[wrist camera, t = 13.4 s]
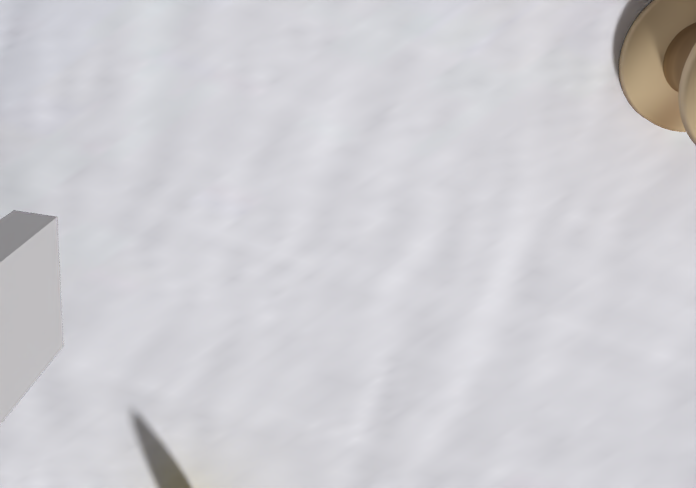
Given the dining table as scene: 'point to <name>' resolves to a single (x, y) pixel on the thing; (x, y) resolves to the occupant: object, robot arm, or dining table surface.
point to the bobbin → (662, 65)
